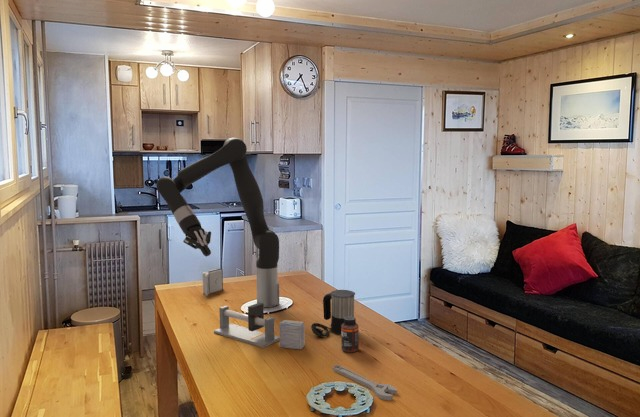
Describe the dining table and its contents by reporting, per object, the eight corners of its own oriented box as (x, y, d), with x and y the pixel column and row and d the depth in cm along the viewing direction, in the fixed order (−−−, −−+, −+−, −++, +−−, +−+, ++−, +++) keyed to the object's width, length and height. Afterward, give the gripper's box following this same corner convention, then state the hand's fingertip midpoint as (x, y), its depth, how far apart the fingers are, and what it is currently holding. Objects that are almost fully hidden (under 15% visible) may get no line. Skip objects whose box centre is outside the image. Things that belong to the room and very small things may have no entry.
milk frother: (358, 328, 196) (358, 291, 195) (342, 342, 182) (342, 302, 180) (325, 323, 202) (325, 286, 201) (306, 336, 188) (306, 297, 187)
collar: (248, 330, 183) (247, 306, 182) (259, 325, 188) (259, 302, 187) (252, 331, 182) (252, 307, 181) (263, 326, 187) (263, 303, 186)
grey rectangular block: (206, 296, 239) (205, 275, 238) (197, 295, 242) (196, 274, 240) (224, 289, 252) (223, 269, 250) (215, 287, 254) (214, 268, 253)
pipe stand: (213, 332, 192) (213, 309, 191) (231, 325, 200) (230, 303, 198) (263, 347, 178) (263, 322, 177) (280, 339, 185) (279, 315, 184)
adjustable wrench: (330, 371, 160) (330, 365, 160) (347, 366, 164) (347, 360, 164) (385, 402, 140) (385, 396, 140) (402, 396, 144) (402, 390, 144)
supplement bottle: (358, 346, 178) (359, 315, 177) (358, 353, 173) (358, 321, 171) (341, 346, 179) (341, 314, 178) (340, 352, 173) (340, 320, 172)
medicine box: (305, 345, 180) (304, 321, 179) (300, 350, 176) (300, 325, 175) (284, 342, 182) (284, 319, 181) (279, 347, 178) (279, 323, 177)
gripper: (177, 216, 196) (199, 253, 191) (204, 211, 206) (225, 246, 201) (169, 228, 200) (190, 264, 195) (196, 222, 210) (217, 256, 206)
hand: (208, 255), depth 198 cm, fingers closed
